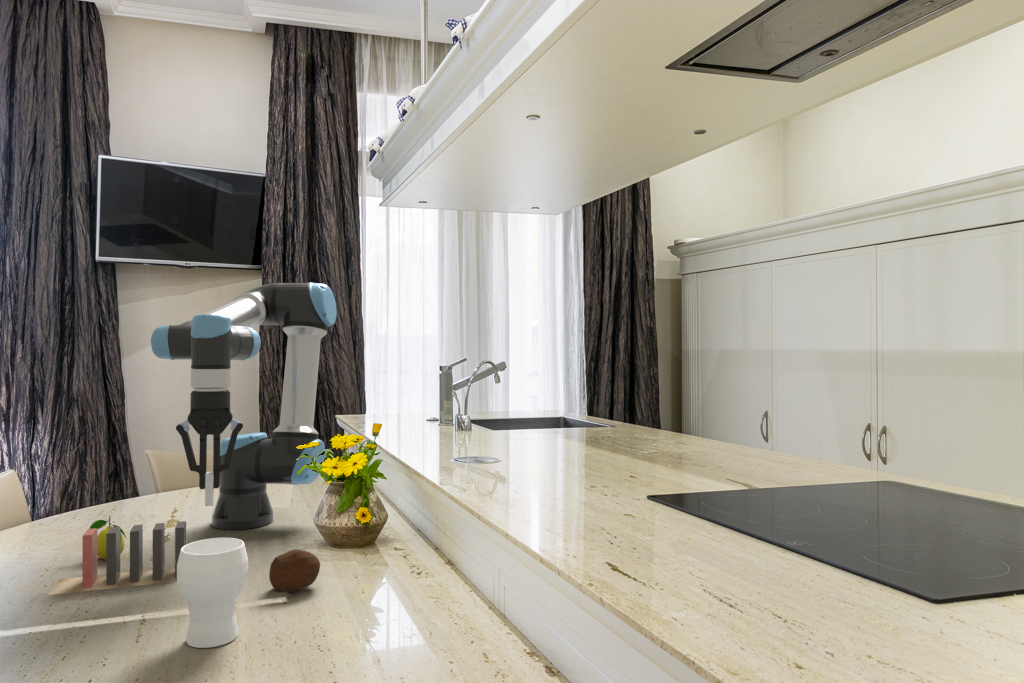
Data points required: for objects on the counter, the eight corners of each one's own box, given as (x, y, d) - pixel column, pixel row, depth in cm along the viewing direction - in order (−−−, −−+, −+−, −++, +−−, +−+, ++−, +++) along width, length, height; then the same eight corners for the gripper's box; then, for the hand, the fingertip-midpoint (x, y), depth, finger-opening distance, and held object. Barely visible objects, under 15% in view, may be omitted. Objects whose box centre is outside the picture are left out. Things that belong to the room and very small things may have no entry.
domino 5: (185, 569, 144) (186, 521, 144) (183, 577, 139) (184, 527, 139) (177, 570, 144) (177, 521, 143) (174, 578, 139) (175, 528, 139)
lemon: (88, 561, 151) (88, 515, 151) (117, 555, 155) (118, 511, 155) (98, 568, 147) (98, 521, 146) (128, 562, 151) (128, 516, 151)
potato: (262, 593, 133) (262, 551, 133) (305, 579, 141) (305, 540, 141) (285, 602, 129) (285, 559, 129) (328, 587, 137) (328, 547, 137)
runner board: (203, 568, 147) (203, 564, 147) (200, 582, 139) (200, 578, 139) (60, 583, 138) (60, 579, 138) (47, 599, 129) (47, 594, 129)
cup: (191, 625, 118) (191, 537, 118) (255, 623, 119) (255, 536, 119) (165, 653, 107) (165, 556, 107) (236, 651, 108) (236, 555, 108)
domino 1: (97, 578, 138) (97, 528, 138) (92, 586, 134) (92, 534, 134) (88, 579, 138) (88, 528, 138) (82, 587, 133) (82, 535, 133)
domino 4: (164, 571, 143) (164, 522, 143) (161, 579, 138) (161, 529, 138) (155, 572, 142) (155, 523, 142) (152, 580, 137) (152, 529, 137)
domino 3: (142, 573, 141) (142, 524, 141) (138, 581, 137) (139, 531, 137) (133, 574, 141) (133, 525, 141) (129, 582, 136) (129, 531, 136)
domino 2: (120, 576, 140) (120, 526, 140) (115, 584, 135) (115, 532, 135) (111, 577, 139) (111, 527, 139) (106, 585, 135) (106, 533, 135)
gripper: (244, 388, 149) (243, 498, 149) (177, 389, 144) (176, 503, 144) (244, 390, 142) (243, 506, 142) (173, 391, 137) (172, 511, 137)
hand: (209, 504), depth 143 cm, fingers closed
